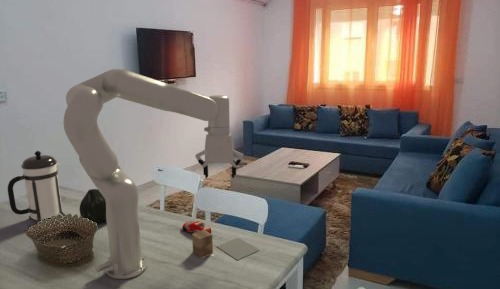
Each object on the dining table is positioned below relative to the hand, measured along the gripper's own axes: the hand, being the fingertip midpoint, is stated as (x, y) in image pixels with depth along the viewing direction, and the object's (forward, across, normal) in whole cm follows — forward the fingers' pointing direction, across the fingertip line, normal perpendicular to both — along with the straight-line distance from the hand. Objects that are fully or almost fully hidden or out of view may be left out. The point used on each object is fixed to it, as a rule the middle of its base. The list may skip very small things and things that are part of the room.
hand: (220, 176), depth 133 cm
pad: (+24, +7, -8) cm, 27 cm away
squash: (+25, -53, +17) cm, 61 cm away
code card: (+25, -6, -10) cm, 27 cm away
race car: (+25, -10, +5) cm, 27 cm away
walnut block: (+24, -6, -10) cm, 27 cm away
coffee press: (+25, -77, +17) cm, 83 cm away
